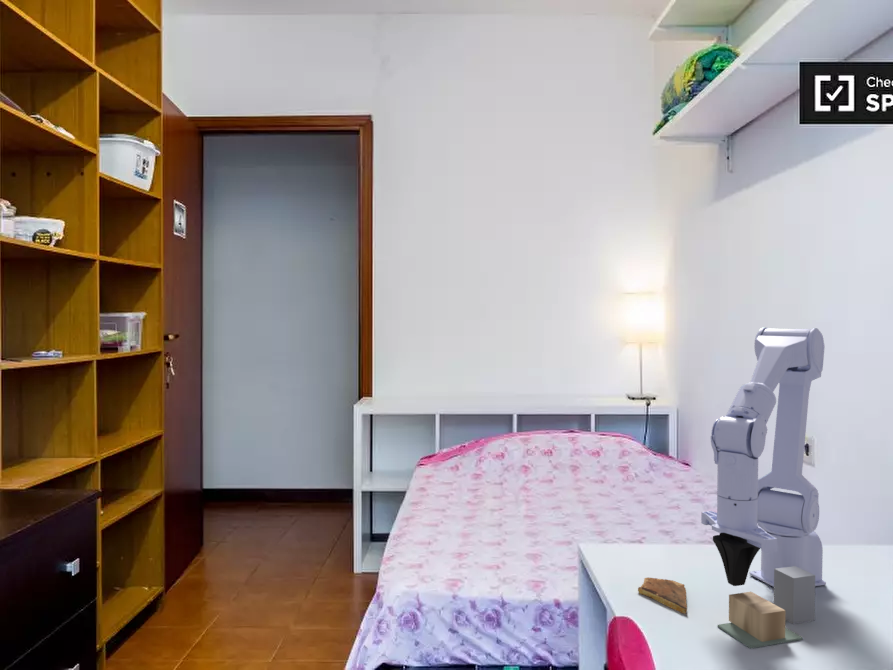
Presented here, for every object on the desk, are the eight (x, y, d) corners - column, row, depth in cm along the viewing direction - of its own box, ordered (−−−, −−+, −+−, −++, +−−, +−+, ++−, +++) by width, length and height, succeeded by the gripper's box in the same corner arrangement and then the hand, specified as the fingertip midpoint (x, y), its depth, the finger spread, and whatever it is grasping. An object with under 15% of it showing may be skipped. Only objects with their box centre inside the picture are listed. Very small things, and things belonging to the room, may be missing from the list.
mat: (767, 618, 107) (767, 616, 107) (802, 639, 100) (802, 637, 100) (717, 626, 104) (717, 624, 104) (750, 648, 97) (750, 646, 97)
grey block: (794, 609, 110) (795, 566, 110) (814, 620, 106) (815, 575, 106) (773, 612, 109) (774, 568, 109) (793, 624, 105) (793, 578, 105)
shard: (687, 618, 108) (687, 607, 108) (636, 612, 111) (636, 601, 110) (685, 591, 119) (685, 581, 118) (639, 586, 121) (639, 575, 121)
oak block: (751, 591, 106) (785, 610, 100) (750, 617, 107) (785, 637, 100) (729, 594, 105) (762, 614, 99) (728, 620, 106) (761, 641, 99)
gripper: (685, 486, 112) (684, 569, 113) (748, 511, 98) (747, 606, 99) (722, 482, 114) (721, 564, 115) (789, 506, 100) (788, 600, 101)
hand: (736, 583), depth 107 cm, fingers closed
